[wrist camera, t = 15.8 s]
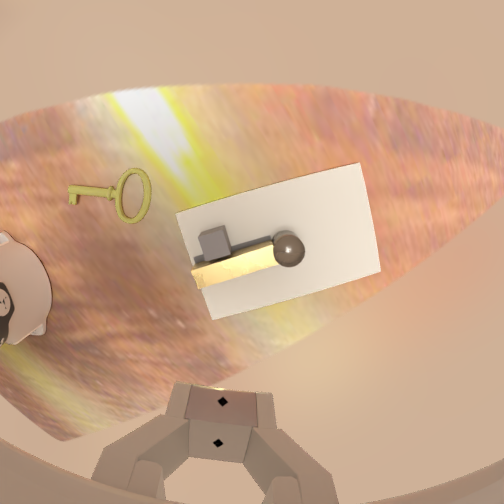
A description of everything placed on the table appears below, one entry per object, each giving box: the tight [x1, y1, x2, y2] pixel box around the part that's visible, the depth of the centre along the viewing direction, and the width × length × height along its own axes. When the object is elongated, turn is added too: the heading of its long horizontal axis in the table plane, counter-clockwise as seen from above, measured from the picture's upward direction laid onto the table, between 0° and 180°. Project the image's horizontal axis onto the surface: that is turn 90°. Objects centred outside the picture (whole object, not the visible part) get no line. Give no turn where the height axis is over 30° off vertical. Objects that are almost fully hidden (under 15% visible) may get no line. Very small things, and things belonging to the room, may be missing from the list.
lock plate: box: [175, 163, 381, 320], centre depth 37 cm, size 24×15×4 cm, turn 106°
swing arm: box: [191, 230, 305, 289], centre depth 36 cm, size 13×4×4 cm, turn 108°
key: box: [68, 168, 151, 224], centre depth 37 cm, size 7×12×2 cm, turn 98°
